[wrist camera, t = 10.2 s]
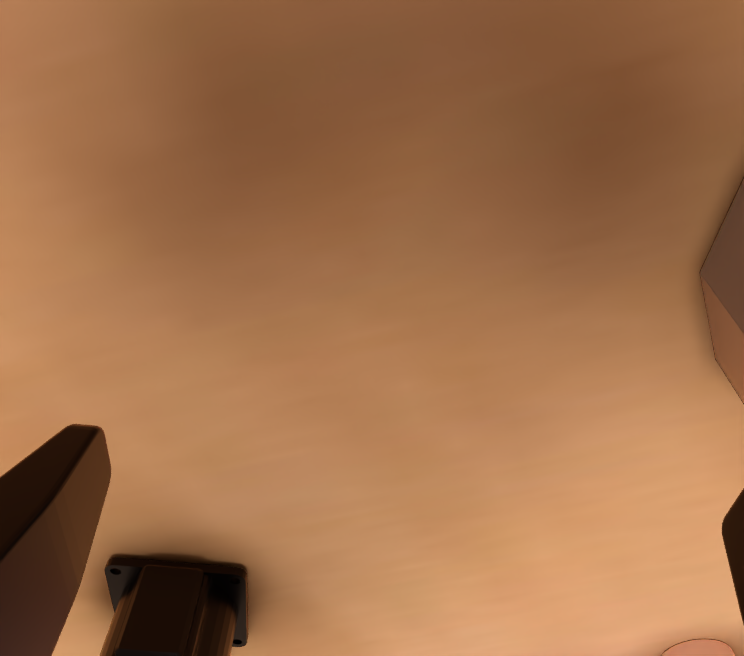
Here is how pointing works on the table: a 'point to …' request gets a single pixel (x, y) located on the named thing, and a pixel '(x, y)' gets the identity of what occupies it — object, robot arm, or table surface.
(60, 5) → the table surface
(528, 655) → the table surface
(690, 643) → the smoothie
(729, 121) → the table surface
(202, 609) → the robot arm
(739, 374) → the dish
